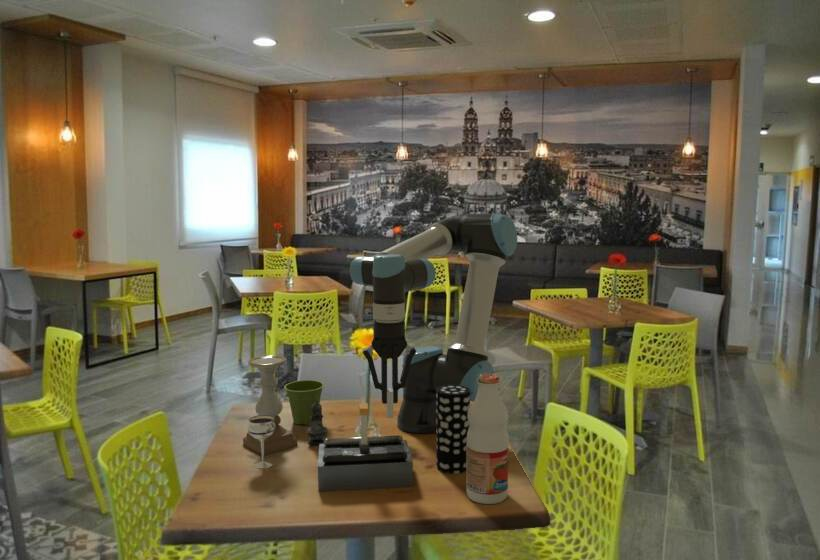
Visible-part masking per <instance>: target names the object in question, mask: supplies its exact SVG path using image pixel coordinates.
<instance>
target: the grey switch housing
mask: <svg viewBox="0 0 820 560" xmlns="http://www.w3.org/2000/svg"><path fill="white" fill-rule="evenodd" d="M324 439H325V440H324V444H319V446H318V459H317V484H318V485H317V490H318V492H328V491H329V492H332V491H348V490H351V491H352V490H368V489H387V488H388V489H390V488H405V487H406V488H408V487H410V488H411V487H413V486H414V484H413V483H414V474H413V473H414V466H413V465H414V462H413V458H412V454H411V450H410V448H409V444H408V440H407V439H404V438H403V436H402V435H377V436H367V440H368V442H369V448H370V451H369V453H368V454H361V453H360V449H359V442H360V440H361V436H357V437H356V436H355V437H354V436H353V437H335V438H334V437H331V438H330V437H329V438H324Z"/></svg>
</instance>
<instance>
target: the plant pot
mask: <svg viewBox="0 0 820 560" xmlns="http://www.w3.org/2000/svg"><path fill="white" fill-rule="evenodd" d="M324 386H325V383H324V382H322V381H320V380H314V379H303V380H295V381H292V382H289V383H286V384H285V385H284V386H283V388H284V390H286V396H287V397H288V402H289V405H290V410H291V415H292V421H293V423H294V424H296V425H298V424H299V425H305V426H309V424H310V425H311V418H310V416H311V415H312V413H311V406H312V405H313V404H315V403H316V400H317V403H319V404H321V396H322V392H323V388H324ZM299 425H298V426H299Z"/></svg>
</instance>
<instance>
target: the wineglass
mask: <svg viewBox="0 0 820 560" xmlns="http://www.w3.org/2000/svg"><path fill="white" fill-rule="evenodd" d="M274 420H275V417H274V416H271V415H258V414H256V415H253V416H250V417H249V418H248V419H247V421H248V427H247V430H248V432H249V433H250V435H251V436H253V437H254V438H255V439H259V441H261V451H262V455H261V460H259V461H256V462H255V463H253V465H252V467H253V468H256V469H259V468H261V470H263V469H268V468H270V466H271V467H272V466H273V465H274V463H273V461H270V460H265V457H264V456H265V455H264V441H265V439H266V438H269V437H270V436H271V435H272V434H273V433H274V431H275V423H274ZM262 468H263V469H262Z"/></svg>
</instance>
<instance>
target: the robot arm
mask: <svg viewBox="0 0 820 560" xmlns="http://www.w3.org/2000/svg"><path fill="white" fill-rule="evenodd" d="M517 246H518V232H517V227H516V225H515V223H514V221H513V219H512V218H511V217H510V216H508V215H506V214H499V213H459V214H454V215H452V216H448V217H446V218H444V219H441V220H439V221H436V222H435V223H432V224H430V225H429V226H427V227H426V229H425V231H423V232H420V233H419V234H417V235H414V236H413V237H412V236H411V237H410V238H408V239H406V240H404V241H401V242H400V243H397V244H395V245H394V246H391V247H389V248H387V249H385V250H382V251H380V252H378V253H376V254H374V255H371V256H366V255H364V256H357V257H355V258H354V259H353V260H352V261H351V262H350V266H349V275H350V279H351V280H352V282H353V283H355V284H356V285H360V286H364V287H372V289H373V290H372V291H373V293H372V295H373V296H372V297H373V299H372V316H373V317H372V319H374V321H373V322H372V323H373V324H372V325H373V326H372V327H373V328H372V329H373V332H372V333H373V338H372V341H371V344H370V345H369V346H368V347H364V348H363V349H362V354H363V356H364V358H365V359H366V360H367V363H368V367H369V370H370V374H371V378H372V382H373V383H372V384H373V386H374V389H376V390H377V389H378V390H381V402H382V404H384V405H385V407H386V408H385V409H386V411H385V413H386V418H387V419H394V404H398V402H399V390H400V389H402V402H401V405H400V407H399V413H398V415H397V416H396V417H397V418H396V419H397V424H396V425H397V427H398V428H399V430H402V431H404V432H407V433H412V434H434V433H436V389H437V388H438V387H440V386H444V385H461V386H465V387H468V388H469V389H470V402H473V401H474V400H475V398H476V395H477V392H478V386H479V385H478V383H477V376H478V375H480V374H494V372H493V369H494V367H493V365H492V364H491V362H489V361H488V359H489V355H488V353H487V351H486V350H485V347H486V341H487V335H488V329H489V325H490V324H489V323H490V318H491V314H492V313H491V312H492V308H493V303H494V297H495V293H496V287H497V280H498V275H499V271H500V268H501V267H502V266H504V265H505V264H506V261H507V257H509V256H512V255H513V254H515V252H516V249H517ZM448 253H466V254H465V257H466V258H467V260H468V262H469V265H468V271H467V275H466V281H465V286H464V290H463V296H462V301H461V305H460V306H461V307H460V311H459V317H458V322H457V326H456V331H455V333H456V334H455V337H454V342H453V344H452V345H450V346H448V347H447V351H446V354H443V353H444V351H443V348H442V347H440V346H432V345H431V346H421V347H414V346H411V345H410V344H408V341H407V340H406V322H405V321H404V319H405V318H406V315H405V314H406V308H405V307H406V303H405V302H406V297H405V296H406V295H405V294H406V293H407V292H413V291H417V290H419V291H421V290H425V288H428V287H430V286H431V285H433V284H434V282H435V280H436V274H437V273H436V268H435V266H434V264H433V262H431V261H430V260H428V259H431V258H433V257H435V256H444V255H447V254H448ZM374 351H375V353H376V354H377V356H378V357H379V358H380V363H381V364H380V366H381V367H380V368H381V369H380V370H381V376H380V379H381V381H379V378H378V375H377V370H376V366H375V362H374V359H373V355H374ZM404 351H405V352H404ZM403 352H404V353H403ZM402 354H403V355H402ZM401 355H402V358H403V359H402V364H401V367H402V370H401V375H400V378H399V369H398V368H399V358H400V356H401ZM389 359H391V386H392V387H391V388H390V387H389V388H388V360H389ZM399 379H400V380H399Z"/></svg>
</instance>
